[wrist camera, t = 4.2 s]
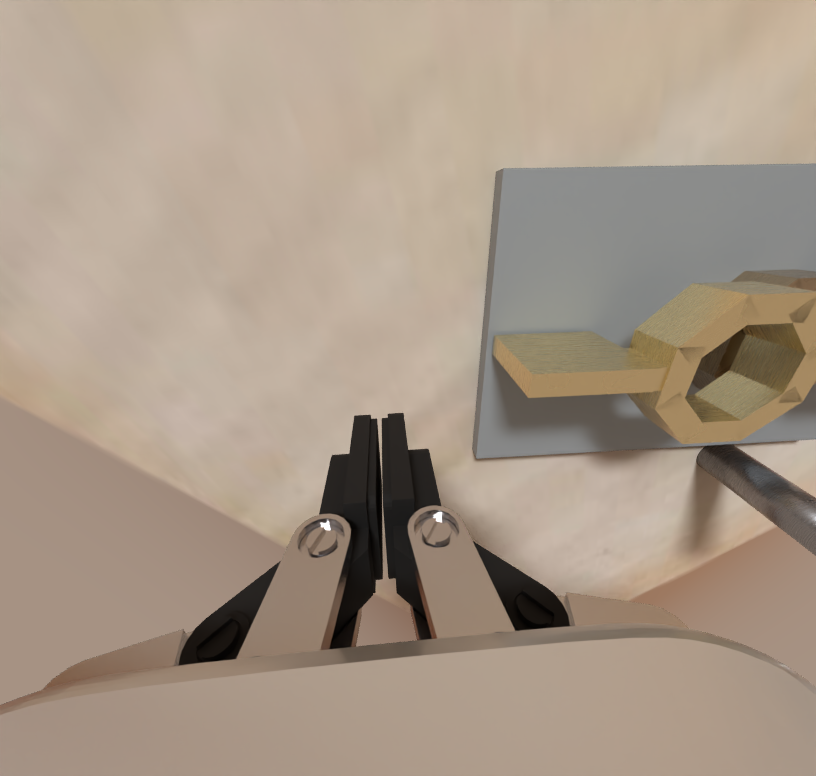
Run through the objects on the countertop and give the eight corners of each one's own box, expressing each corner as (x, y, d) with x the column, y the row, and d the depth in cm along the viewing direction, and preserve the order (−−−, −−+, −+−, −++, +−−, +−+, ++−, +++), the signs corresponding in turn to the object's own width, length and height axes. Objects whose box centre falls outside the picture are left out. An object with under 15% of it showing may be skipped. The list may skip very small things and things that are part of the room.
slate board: (969, 164, 18) (1005, 160, 17) (800, 430, 27) (818, 439, 25) (496, 171, 17) (503, 168, 16) (472, 448, 25) (476, 458, 24)
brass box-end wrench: (739, 271, 19) (870, 290, 14) (690, 389, 22) (780, 438, 17) (500, 279, 18) (544, 301, 13) (487, 399, 22) (519, 453, 17)
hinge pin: (737, 439, 27) (942, 566, 17) (723, 466, 28) (906, 599, 18) (704, 441, 26) (892, 570, 17) (691, 468, 28) (859, 603, 18)
